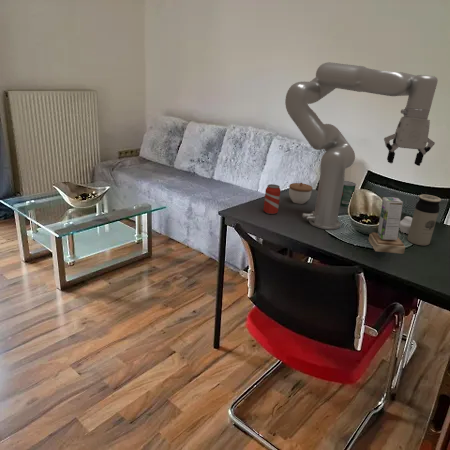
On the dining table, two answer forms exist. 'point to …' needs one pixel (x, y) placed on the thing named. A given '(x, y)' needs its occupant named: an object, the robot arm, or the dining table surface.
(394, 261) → the dining table surface
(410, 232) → the travel mug
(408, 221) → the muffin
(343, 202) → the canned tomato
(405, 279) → the dining table surface
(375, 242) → the base
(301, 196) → the lidded jar
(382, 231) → the syrup box
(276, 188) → the beverage can
